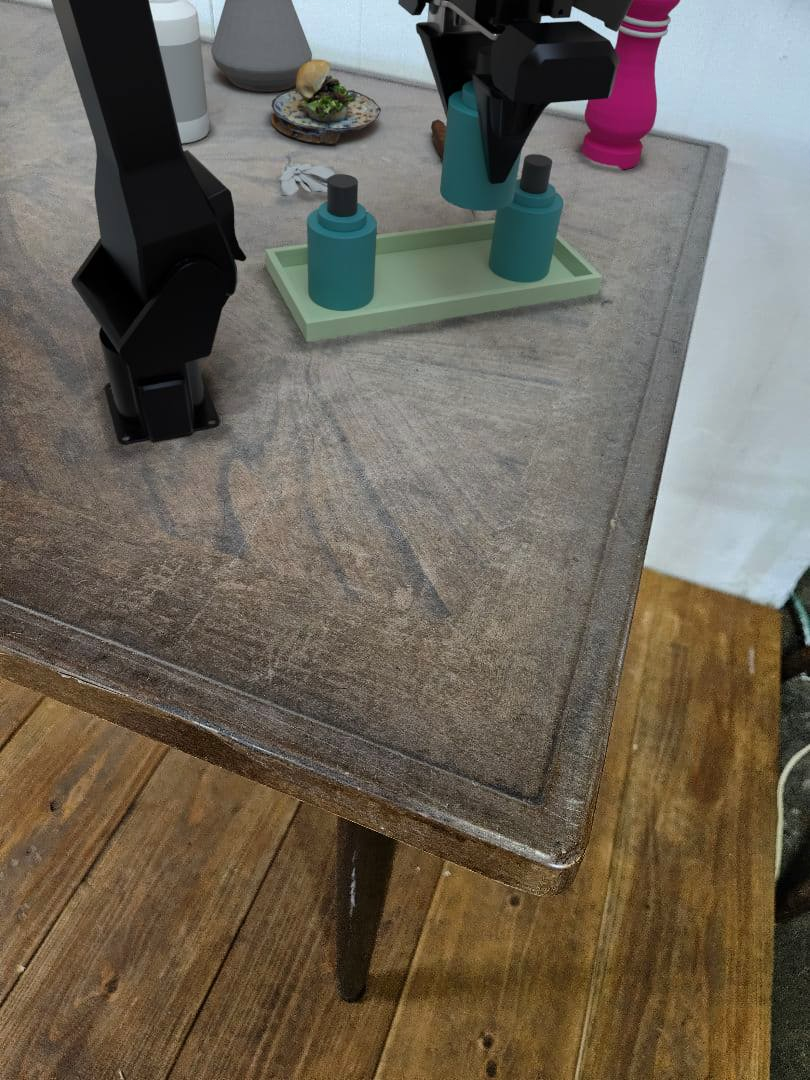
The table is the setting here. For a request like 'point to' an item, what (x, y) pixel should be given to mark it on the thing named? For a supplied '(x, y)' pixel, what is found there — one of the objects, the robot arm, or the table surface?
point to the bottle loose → (471, 153)
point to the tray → (428, 281)
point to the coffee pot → (260, 44)
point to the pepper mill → (629, 88)
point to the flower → (304, 177)
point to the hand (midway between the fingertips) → (479, 165)
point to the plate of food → (321, 106)
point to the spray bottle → (182, 65)
